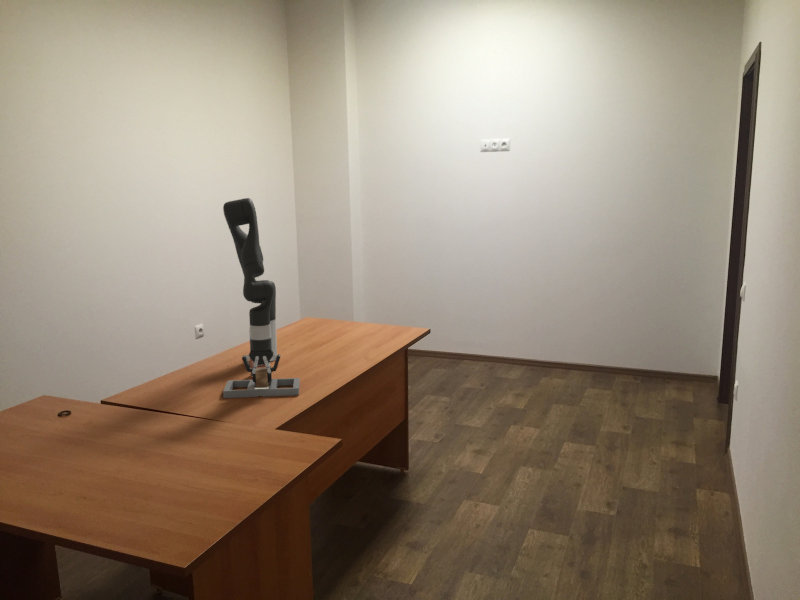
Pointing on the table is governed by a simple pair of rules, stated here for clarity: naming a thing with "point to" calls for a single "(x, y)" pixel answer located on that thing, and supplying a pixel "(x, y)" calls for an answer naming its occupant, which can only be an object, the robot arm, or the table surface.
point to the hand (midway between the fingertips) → (262, 382)
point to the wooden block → (261, 377)
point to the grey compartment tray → (256, 392)
